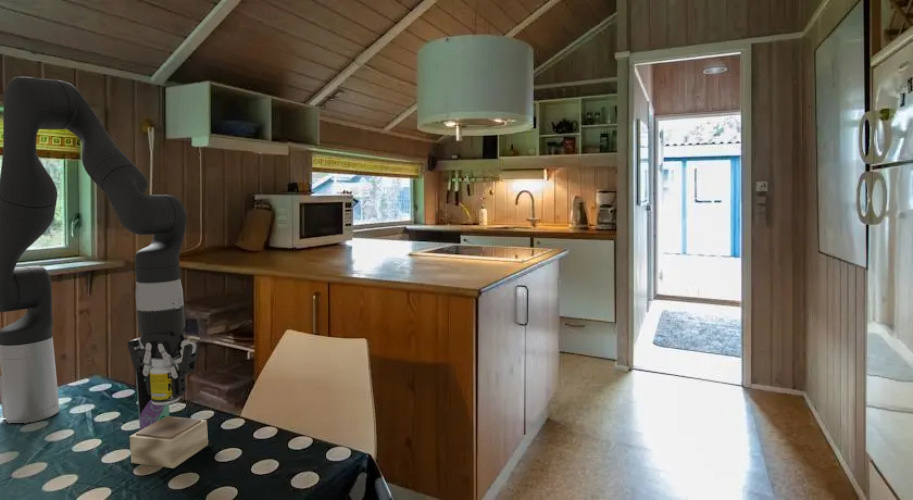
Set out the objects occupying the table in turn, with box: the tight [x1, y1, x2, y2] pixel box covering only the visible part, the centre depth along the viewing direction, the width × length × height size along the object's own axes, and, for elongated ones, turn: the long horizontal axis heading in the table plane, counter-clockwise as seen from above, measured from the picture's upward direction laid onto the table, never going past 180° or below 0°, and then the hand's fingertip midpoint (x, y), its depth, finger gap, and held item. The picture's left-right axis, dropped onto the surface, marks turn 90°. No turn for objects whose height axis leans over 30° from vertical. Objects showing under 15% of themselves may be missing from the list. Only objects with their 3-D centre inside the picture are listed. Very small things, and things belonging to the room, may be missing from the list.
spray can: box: [135, 357, 171, 431], centre depth 108 cm, size 6×6×20 cm
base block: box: [128, 415, 209, 469], centre depth 99 cm, size 9×9×5 cm
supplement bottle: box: [150, 357, 181, 405], centre depth 97 cm, size 5×5×8 cm
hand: (166, 394), depth 98 cm, fingers closed on supplement bottle, 4 cm apart
